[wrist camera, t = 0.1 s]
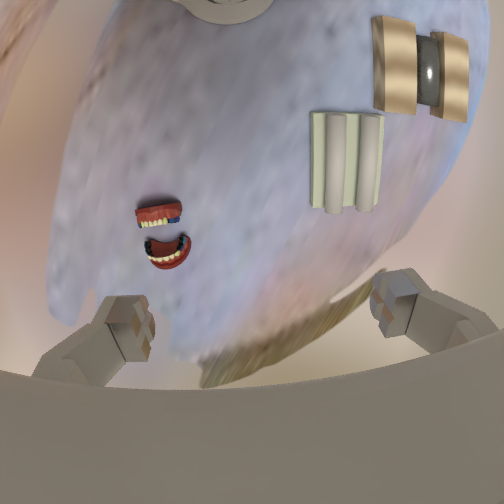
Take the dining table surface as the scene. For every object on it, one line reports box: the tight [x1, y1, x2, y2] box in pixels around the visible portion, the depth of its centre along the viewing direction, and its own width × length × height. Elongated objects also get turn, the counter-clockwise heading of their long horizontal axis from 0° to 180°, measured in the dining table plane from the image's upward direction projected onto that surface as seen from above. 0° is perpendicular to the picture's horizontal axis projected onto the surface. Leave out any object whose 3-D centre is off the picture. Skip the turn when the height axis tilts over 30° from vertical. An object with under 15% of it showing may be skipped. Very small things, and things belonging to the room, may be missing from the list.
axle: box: [416, 35, 440, 107], centre depth 35 cm, size 12×5×5 cm, turn 4°
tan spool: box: [371, 15, 469, 123], centre depth 35 cm, size 16×18×4 cm
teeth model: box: [135, 202, 191, 269], centre depth 49 cm, size 8×6×12 cm
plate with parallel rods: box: [310, 112, 384, 215], centre depth 44 cm, size 16×12×5 cm
